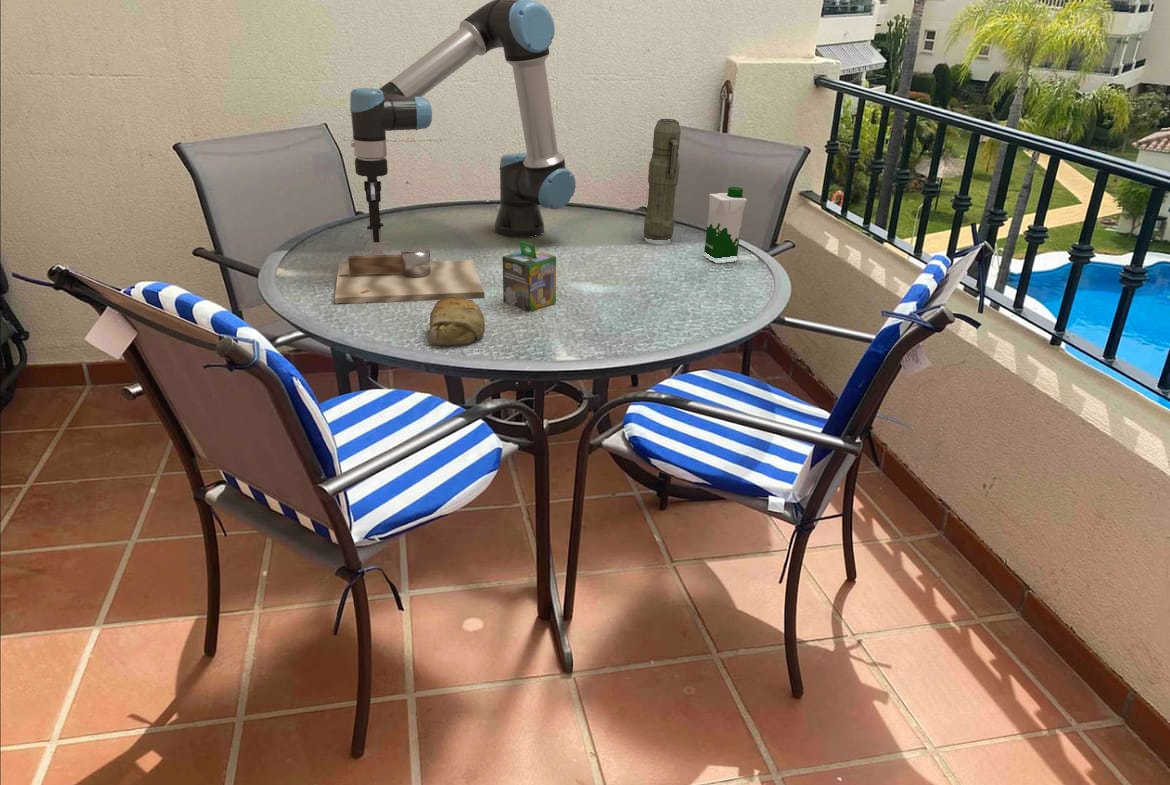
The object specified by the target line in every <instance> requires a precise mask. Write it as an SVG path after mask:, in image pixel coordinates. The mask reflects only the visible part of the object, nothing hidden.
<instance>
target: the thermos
mask: <svg viewBox="0 0 1170 785" xmlns="http://www.w3.org/2000/svg"><path fill="white" fill-rule="evenodd" d="M681 133H682V132H681V126H680V121H677V120H676V119H675V118H674V119H673V118H660V120H657V122H656V124H655V127H654V130H653V138H652V140H653V141H652V148H653V149H652V153H651V158H650V161H649V165H648V177H647V182H648V195H647V196H648V197H647V208H646V209H647V210H646V215H645V217H644V223H643V224H644V225H643V236H644V237H645V238H647V239H652V240H668V239H671V238H672V239H673V236H674V228H675V216H674V210H675V200H676V189H677V185H678V183H679V177H680V176H679V174H680V173H679V172H680V164H681V163H680V160H679V149H680V142H681V141H680V140H681ZM644 237H643V238H644Z"/></svg>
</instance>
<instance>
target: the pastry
mask: <svg viewBox="0 0 1170 785" xmlns="http://www.w3.org/2000/svg"><path fill="white" fill-rule="evenodd" d="M429 313H430V314H429V315H430V316H429V329H430V330H429V335H428V344H430V343H432V344H435V346H453V345H454V346H455V345H456V346H461V345H463V346H464V345H469V344H472V343H475V342H476V341H478V340H479V339H481V338H482V337H483V335H484V333H485V332H486V330H485V328H486V326H485V324H486V323H485V316H484V314H483V310H482V309H481V307H480V306H479V305H478V304H477V303H476V302H474V300H473V299H462V298H456V297H449V298H444V299H441V300H437V302H436V303H435V304H434V306H433V309H432V310H431V312H429ZM432 344H431V345H432Z"/></svg>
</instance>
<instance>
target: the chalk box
mask: <svg viewBox="0 0 1170 785" xmlns="http://www.w3.org/2000/svg"><path fill="white" fill-rule="evenodd" d="M518 242H519V249H520V250H519V251H516V252H515V251H514V252H512V253H509V254H506V255H503V256H502V296H503V299H502V300H503V303H505V304H508V305H511V306H513V307H516V308H518V309H520V310H523V311H526V312H527V313H531V312H533V311H535V310H538V309H541V308H544V307H546V306H550V305H552V304H555V303H557V280H556V279H557V274H556V273H557V256H556V255H552V254H550V253H546V252H542V251H538V250H536V248H535V245H534V243H533V244H532V243H529V242H526V241H523V240H519V241H518ZM526 248H529V249H526ZM530 311H531V312H530Z"/></svg>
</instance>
